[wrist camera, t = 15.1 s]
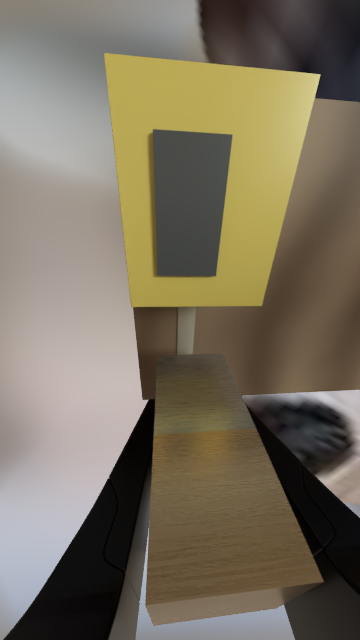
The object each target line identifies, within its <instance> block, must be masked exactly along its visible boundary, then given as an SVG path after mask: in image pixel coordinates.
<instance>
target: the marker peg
mask: <svg viewBox="0 0 360 640" xmlns="http://www.w3.org/2000/svg"><path fill="white" fill-rule="evenodd" d="M323 582H324V581H323V578H322V576H321V574H320V572H319V569H318V567H317V565H316V563H315V560H314V558H313V556H312V554H311V551H310V549H309V547H308V545H307V542H306V540H305V538H304V536H303V533H302V531H301V529H300V526H299V524H298V522H297V520H296V517H295V515H294V513H293V511H292V508H291V506H290V504H289V502H288V499H287V497H286V495H285V493H284V490H283V488H282V486H281V484H280V481H279V479H278V477H277V475H276V472H275V470H274V468H273V465H272V463H271V461H270V459H269V456H268V454H267V452H266V450H265V447H264V445H263V443H262V441H261V438H260V436H259V434H258V432H257V429H256V427H255V425H254V423H253V420H252V418H251V416H250V414H249V411H248V409H247V407H246V404H245V402H244V400H243V398H242V395H241V393H240V391H239V389H238V386H237V384H236V382H235V380H234V377H233V375H232V373H231V371H230V368H229V366H228V364H227V362H226V359H225V357H224V355H223V353H214V354H179V355H158V358H157V378H156V399H155V419H154V440H153V460H152V481H151V501H150V522H149V543H148V563H147V584H146V608H147V611H148V613H149V616H150V618H151V620H152V623H153V625H161V624H168V623H175V622H182V621H190V620H197V619H204V618H211V617H218V616H225V615H232V614H239V613H246V612H253V611H260V610H268V609H274V608H278V607H279V606H281V605H283V604H285V603H287V602H289V601H290V600H292V599H294V598H296V597H298V596H299V595H301V594H303V593H305V592H307V591H308V590H310V589H312V588H314V587H316V586H317V585H319V584H321V583H323Z"/></svg>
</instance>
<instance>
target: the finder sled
mask: <svg viewBox="0 0 360 640" xmlns="http://www.w3.org/2000/svg"><path fill="white" fill-rule="evenodd" d="M104 56H105V65H106V75H107V83H108V93H109V103H110V111H111V122H112V131H113V140H114V149H115V159H116V167H117V177H118V187H119V196H120V205H121V215H122V224H123V233H124V243H125V251H126V262H127V271H128V280H129V290H130V298H131V306H132V307H192V306H262V303H263V299H264V295H265V291H266V287H267V283H268V279H269V275H270V271H271V268H272V264H273V260H274V256H275V252H276V248H277V244H278V240H279V236H280V232H281V228H282V224H283V220H284V216H285V212H286V209H287V205H288V201H289V197H290V193H291V189H292V185H293V181H294V177H295V173H296V169H297V165H298V161H299V157H300V153H301V150H302V146H303V142H304V138H305V134H306V130H307V126H308V122H309V118H310V114H311V110H312V106H313V102H314V98H315V94H316V91H317V87H318V83H319V79H320V75H321V74H311V73H301V72H291V71H281V70H270V69H260V68H250V67H240V66H230V65H220V64H210V63H199V62H189V61H179V60H169V59H158V58H149V57H138V56H128V55H118V54H108V53H105V54H104Z"/></svg>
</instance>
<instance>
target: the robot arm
mask: <svg viewBox="0 0 360 640" xmlns="http://www.w3.org/2000/svg"><path fill="white" fill-rule="evenodd" d="M155 399H156V398H155ZM155 399H149V400H148V402H147V404H146V406H145V408H144V410H143V412H142V414H141V416H140V418H139V420H138V422H137V424H136V426H135V427H134V429H133V431H132V433H131V435H130V437H129V439H128V441H127V443H126V445H125V447H124V449H123V451H122V453H121V455H120V456H119V458H118V460H117V462H116V464H115V466H114V468H113V471H112V472H111V474H110V476H109V478H110V479H107V481H106V483H105V485H104V487H103V489H102V491H101V493H100V495H99V496H98V499H97V500H96V502H95V504H94V506H93V507H92V509H91V511H90V513H89V514H88V516H87V518H86V519H85V521H84V522H83V524H82V526H81V527H80V529H79V531H78V532H77V534H76V535H75V537H74V539H73V540H72V542H71V544H70V545H69V547H68V548H67V550H66V551H65V553H64V555H63V556H62V558H61V559H60V561H59V563H58V564H57V566H56V567H55V569H54V571H53V572H52V574H51V576H50V577H49V578H48V580H47V582H46V583H45V585H44V586H43V588H42V589H41V591H40V592H39V594H38V595H37V597H36V598H35V600H34V601H33V603H32V604H31V605H30V607H29V608H28V610H27V611H26V612H25V614H24V615H23V616H22V617H21V619H20V620H19V621H18V623H17V624H16V625H15V626H14V628H13V629H12V630H11V631H10V633H9V634H8V635H7V636H6V637H5V638H4V639H3V640H135V637H136V628H137V620H138V611H139V601H140V595H141V586H142V578H143V570H144V562H145V552H146V545H147V537H148V528H149V520H150V501H151V481H152V460H153V440H154V419H155ZM246 407H247V409H248V411H249V414H250V416H251V418H252V420H253V423H254V425H255V427H256V429H257V432H258V434H259V436H260V438H261V441H262V443H263V445H264V447H265V450H266V452H267V454H268V456H269V459H270V461H271V463H272V465H273V468H274V470H275V472H276V475H277V477H278V479H279V481H280V484H281V486H282V488H283V490H284V493H285V495H286V497H287V499H288V502H289V504H290V506H291V508H292V511H293V513H294V515H295V517H296V520H297V522H298V524H299V526H300V529H301V531H302V533H303V536H304V538H305V540H306V542H307V545H308V547H309V549H310V551H311V554H312V556H313V558H314V560H315V563H316V565H317V567H318V569H319V572H320V574H321V576H322V578H323V581H324V582H323V583H321V584H319V585H317V586H316V587H314V588H312V589H310V590H308V591H307V592H305V593H303V594H301V595H299V596H298V597H296V598H294V599H292V600H290V601H289V602H287V603H285V604H284V606H285V609H286V612H287V615H288V618H289V622H290V625H291V628H292V631H293V634H294V637H295V640H360V518H359V517H358V516H357V515H356V514H355V513H354V512H352V510H350V509H349V508H348V507H347V506H346V505H345V504H344V503H343V502H342V501H341V500H340V499H338V498H337V497H336V496H335V495H334V494H333V493H332V492H331V491H330V490H329V489H328V488H327V487H326V486H325V485H324V484H323V483H322V482H321V481H320V480H319V479H318V478H317V477H316V476H315V475H314V474H313V473H312V472H311V471H310V470H309V469H308V468H307V467H306V466H305V465H304V464H303V463H302V464H301V461H300V460H299V459H298V458H297V457H296V456H295V455H294V454H293V453H292V452H291V451H290V450H289V449H288V448H287V447H286V446H285V444H284V443H283V442H282V441H281V440H280V439H279V438H278V437H277V436H276V435H275V434H274V433H273V432H272V431H271V430H270V429H269V428H268V427H267V426H266V425H265V424H264V423H263V422H262V421H261V420H260V419H259V418H258V417H257V416H256V414H255V413H254V412H253V411H252V410H251V409H250V408H249V407H248V406H247V405H246Z"/></svg>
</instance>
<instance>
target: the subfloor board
mask: <svg viewBox="0 0 360 640" xmlns="http://www.w3.org/2000/svg"><path fill="white" fill-rule="evenodd" d="M133 310H134V319H135V329H136V339H137V349H138V359H139V369H140V379H141V387H142V397H143V400H149V399H155V398H156V378H157V358H158V355H179V354H214V353H223V355H224V357H225V359H226V362H227V364H228V366H229V368H230V371H231V373H232V375H233V377H234V380H235V382H236V384H237V386H238V389H239V391H240V393H241V395H255V394H276V393H297V392H318V391H339V390H360V102H351V101H339V100H328V99H316V98H314V102H313V106H312V110H311V114H310V118H309V122H308V126H307V130H306V134H305V138H304V142H303V146H302V150H301V153H300V157H299V161H298V165H297V169H296V173H295V177H294V181H293V185H292V189H291V193H290V197H289V201H288V205H287V209H286V212H285V216H284V220H283V224H282V228H281V232H280V236H279V240H278V244H277V248H276V252H275V256H274V260H273V264H272V268H271V271H270V275H269V279H268V283H267V287H266V291H265V295H264V299H263V303H262V306H192V307H133Z"/></svg>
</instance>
